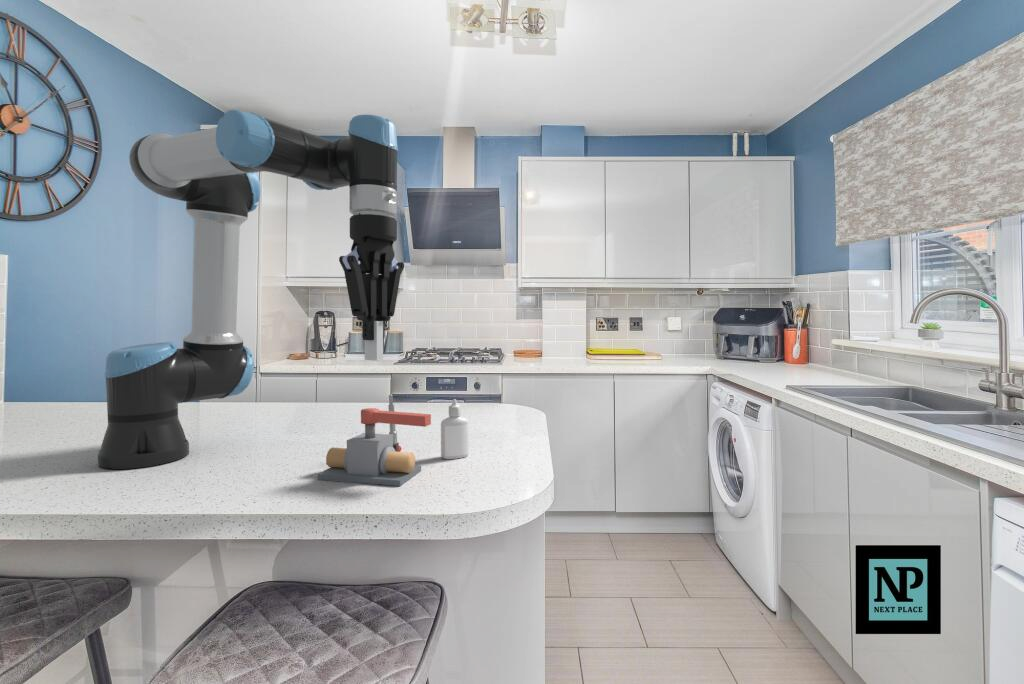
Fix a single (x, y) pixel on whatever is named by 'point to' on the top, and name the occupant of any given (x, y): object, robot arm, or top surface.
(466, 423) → the eye dropper bottle
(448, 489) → the top surface
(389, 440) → the valve base
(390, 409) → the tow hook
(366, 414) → the lever
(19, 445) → the top surface
